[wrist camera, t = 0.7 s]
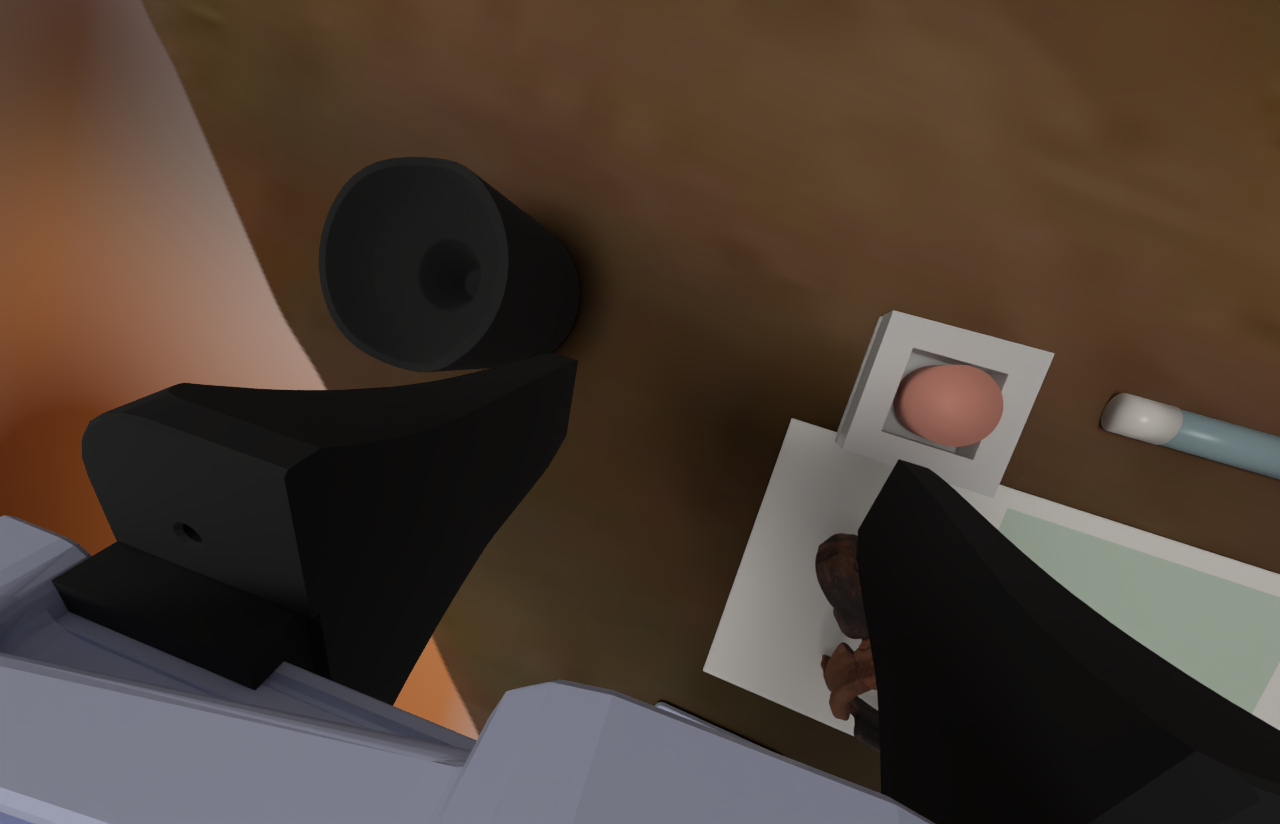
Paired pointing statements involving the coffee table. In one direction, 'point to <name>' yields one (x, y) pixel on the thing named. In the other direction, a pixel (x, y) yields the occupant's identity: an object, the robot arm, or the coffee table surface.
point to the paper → (1042, 529)
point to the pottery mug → (847, 667)
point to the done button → (949, 404)
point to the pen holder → (442, 270)
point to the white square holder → (927, 343)
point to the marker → (1193, 434)
